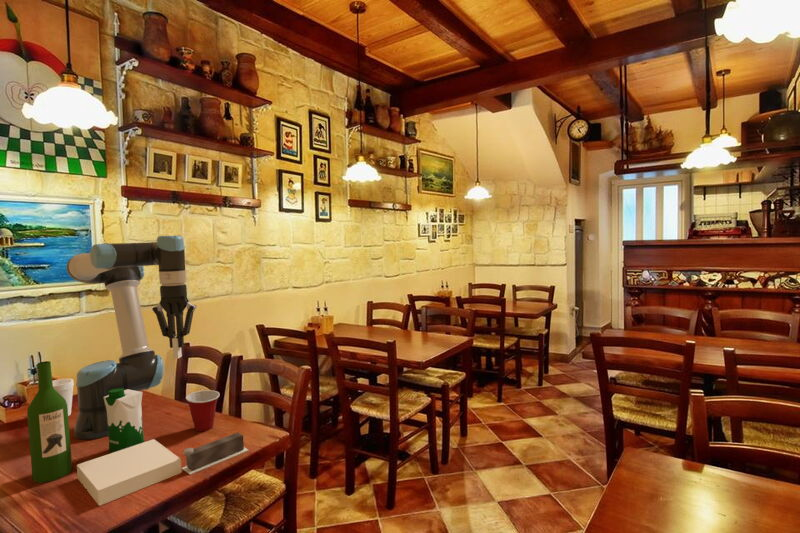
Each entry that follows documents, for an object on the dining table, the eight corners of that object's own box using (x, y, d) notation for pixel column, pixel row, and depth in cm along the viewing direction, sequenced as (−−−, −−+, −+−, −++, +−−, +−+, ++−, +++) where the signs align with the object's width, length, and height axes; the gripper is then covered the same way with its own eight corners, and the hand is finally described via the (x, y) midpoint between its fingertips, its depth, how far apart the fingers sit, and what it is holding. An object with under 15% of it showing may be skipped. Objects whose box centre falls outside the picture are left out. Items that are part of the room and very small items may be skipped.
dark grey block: (187, 472, 125) (186, 453, 124) (182, 468, 127) (181, 450, 126) (243, 449, 138) (242, 431, 137) (238, 446, 140) (237, 429, 139)
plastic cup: (209, 436, 149) (207, 401, 148) (180, 433, 151) (178, 399, 150) (227, 422, 159) (226, 390, 159) (201, 420, 162) (199, 388, 161)
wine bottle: (40, 486, 120) (30, 368, 118) (27, 477, 125) (17, 364, 123) (78, 471, 128) (69, 360, 126) (64, 463, 133) (55, 356, 130)
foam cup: (49, 413, 172) (46, 381, 171) (78, 409, 176) (75, 377, 175) (41, 422, 164) (39, 388, 163) (72, 417, 168) (69, 384, 167)
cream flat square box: (77, 478, 124) (76, 464, 124) (154, 451, 139) (153, 439, 139) (99, 505, 111) (98, 490, 110) (181, 472, 126) (180, 459, 125)
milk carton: (104, 453, 138) (99, 390, 137) (132, 440, 147) (128, 381, 145) (122, 458, 135) (117, 394, 133) (150, 445, 143) (145, 384, 142)
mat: (182, 468, 128) (182, 467, 128) (240, 445, 141) (240, 444, 141) (190, 474, 124) (189, 473, 124) (248, 450, 138) (248, 449, 138)
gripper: (145, 286, 136) (150, 361, 138) (189, 284, 137) (193, 359, 139) (157, 283, 144) (162, 355, 145) (198, 282, 144) (202, 353, 146)
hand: (177, 357), depth 142 cm, fingers closed
